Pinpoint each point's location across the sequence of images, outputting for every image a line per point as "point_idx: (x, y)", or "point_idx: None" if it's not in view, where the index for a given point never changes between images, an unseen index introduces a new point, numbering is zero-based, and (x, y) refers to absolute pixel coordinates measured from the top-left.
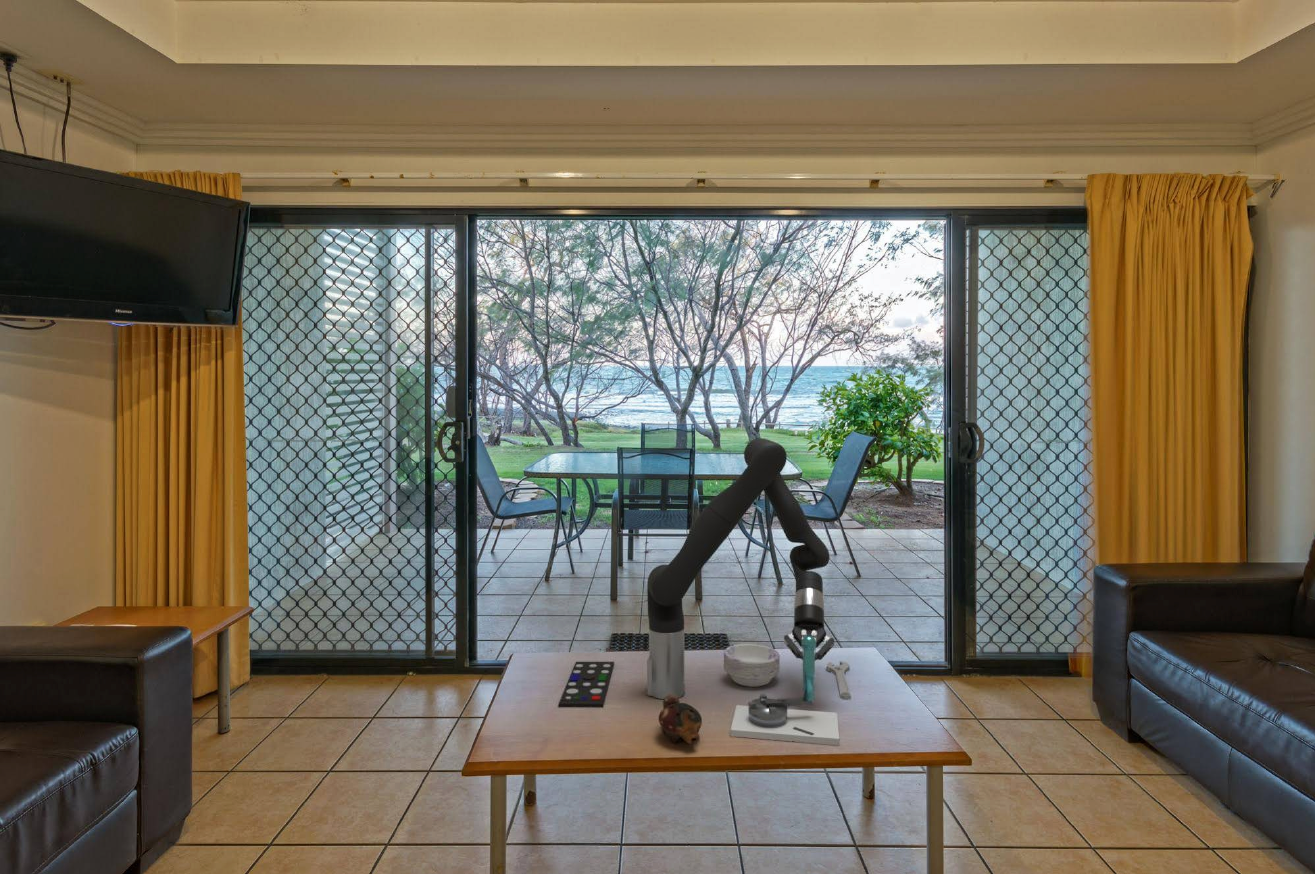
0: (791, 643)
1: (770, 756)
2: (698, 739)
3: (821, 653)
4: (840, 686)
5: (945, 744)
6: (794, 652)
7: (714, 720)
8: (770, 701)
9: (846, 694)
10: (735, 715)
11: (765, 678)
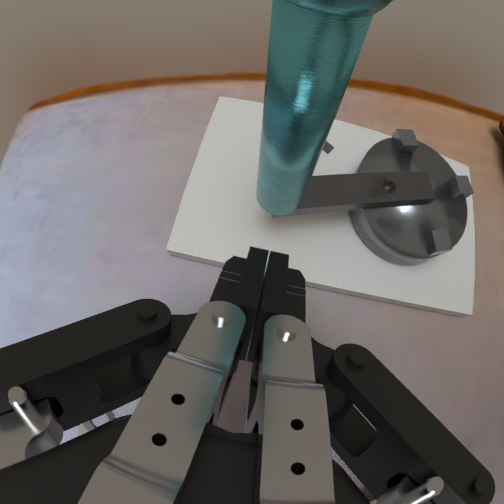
0: (426, 433)
1: (377, 87)
2: (500, 122)
3: (133, 309)
4: None
5: (15, 133)
6: (359, 424)
7: (497, 257)
8: (418, 186)
9: (92, 428)
10: (471, 243)
11: (374, 501)
